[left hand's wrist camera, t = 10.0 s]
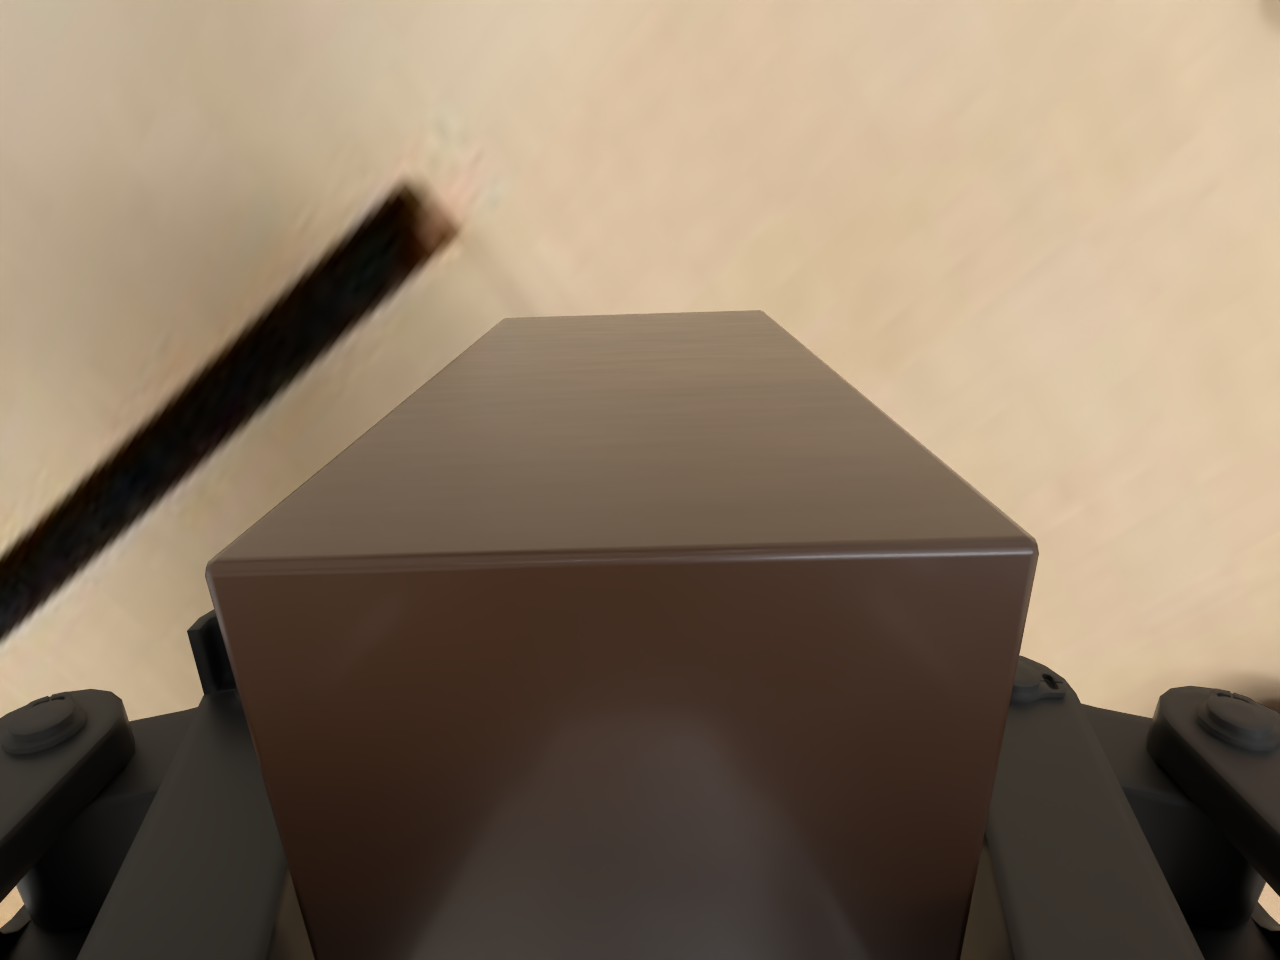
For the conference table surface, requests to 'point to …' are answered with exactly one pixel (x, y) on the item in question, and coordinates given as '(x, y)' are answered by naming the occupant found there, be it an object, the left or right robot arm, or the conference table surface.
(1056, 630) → the conference table surface
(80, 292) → the conference table surface
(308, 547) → the beam
